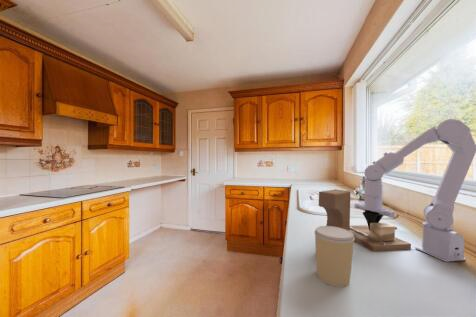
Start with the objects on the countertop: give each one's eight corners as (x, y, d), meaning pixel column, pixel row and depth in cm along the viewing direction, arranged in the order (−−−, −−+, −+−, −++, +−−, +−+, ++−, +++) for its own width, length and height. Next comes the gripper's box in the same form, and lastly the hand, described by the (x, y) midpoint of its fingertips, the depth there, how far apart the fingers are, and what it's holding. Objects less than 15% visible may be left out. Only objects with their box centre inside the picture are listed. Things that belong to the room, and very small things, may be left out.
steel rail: (386, 245, 70) (386, 243, 70) (383, 245, 70) (383, 243, 70) (345, 225, 90) (345, 224, 90) (343, 225, 89) (343, 224, 89)
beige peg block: (401, 239, 74) (401, 226, 74) (380, 241, 73) (380, 227, 73) (390, 235, 79) (390, 222, 79) (369, 236, 77) (370, 222, 77)
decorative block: (333, 259, 63) (334, 194, 63) (316, 252, 68) (317, 191, 68) (350, 250, 70) (351, 191, 70) (333, 244, 74) (335, 189, 74)
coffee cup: (340, 267, 58) (341, 225, 58) (361, 289, 49) (363, 238, 49) (308, 267, 58) (309, 225, 58) (323, 289, 48) (324, 238, 48)
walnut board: (410, 248, 72) (410, 243, 72) (373, 251, 69) (373, 245, 69) (365, 229, 91) (365, 224, 91) (335, 230, 89) (335, 226, 89)
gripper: (400, 199, 75) (399, 236, 75) (363, 192, 88) (362, 224, 88) (387, 200, 72) (386, 238, 72) (351, 193, 86) (350, 225, 86)
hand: (372, 230), depth 80 cm, fingers closed
